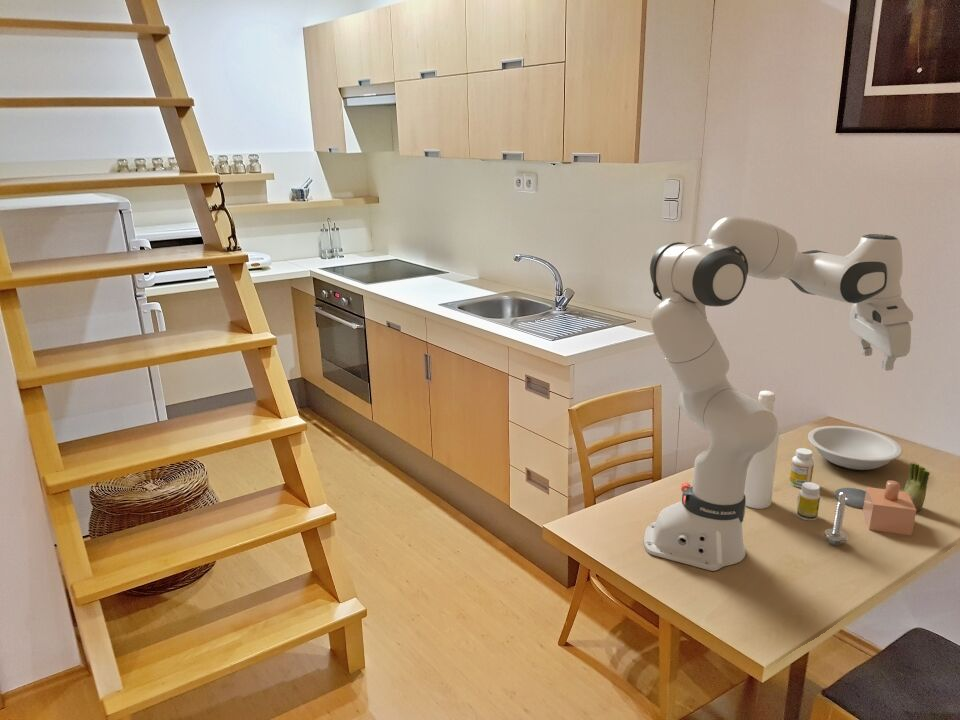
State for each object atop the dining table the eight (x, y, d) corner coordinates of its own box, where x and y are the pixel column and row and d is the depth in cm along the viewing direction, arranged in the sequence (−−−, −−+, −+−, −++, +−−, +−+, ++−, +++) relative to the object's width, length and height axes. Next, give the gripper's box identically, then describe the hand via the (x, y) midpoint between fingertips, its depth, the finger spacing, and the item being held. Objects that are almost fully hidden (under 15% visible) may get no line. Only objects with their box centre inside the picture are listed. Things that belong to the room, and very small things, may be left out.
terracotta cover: (869, 529, 170) (876, 489, 167) (862, 511, 178) (869, 472, 175) (911, 535, 167) (919, 494, 164) (903, 516, 176) (910, 477, 172)
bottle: (739, 507, 181) (751, 396, 172) (737, 492, 188) (748, 386, 179) (772, 510, 179) (786, 399, 170) (769, 496, 186) (782, 388, 177)
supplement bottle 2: (819, 521, 174) (823, 491, 171) (798, 520, 175) (802, 489, 172) (814, 512, 178) (818, 482, 176) (794, 510, 179) (798, 480, 177)
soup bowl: (797, 468, 202) (799, 447, 200) (814, 439, 220) (816, 419, 218) (893, 490, 189) (897, 468, 187) (902, 457, 207) (906, 437, 205)
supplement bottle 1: (800, 477, 196) (805, 445, 193) (815, 486, 191) (820, 453, 188) (784, 481, 194) (789, 448, 192) (799, 489, 190) (803, 456, 187)
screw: (822, 545, 164) (824, 534, 168) (846, 550, 162) (846, 539, 166) (830, 494, 160) (831, 485, 164) (854, 499, 158) (854, 490, 162)
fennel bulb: (924, 515, 176) (933, 471, 173) (902, 512, 178) (910, 468, 174) (919, 504, 182) (927, 461, 178) (897, 501, 183) (905, 458, 179)
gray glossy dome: (837, 505, 181) (837, 503, 181) (832, 487, 190) (832, 485, 190) (881, 511, 178) (881, 509, 178) (874, 492, 187) (874, 490, 187)
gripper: (842, 295, 169) (842, 348, 174) (887, 320, 150) (885, 380, 155) (869, 290, 169) (868, 344, 174) (918, 315, 150) (915, 375, 155)
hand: (877, 361), depth 164 cm, fingers open, 8 cm apart
